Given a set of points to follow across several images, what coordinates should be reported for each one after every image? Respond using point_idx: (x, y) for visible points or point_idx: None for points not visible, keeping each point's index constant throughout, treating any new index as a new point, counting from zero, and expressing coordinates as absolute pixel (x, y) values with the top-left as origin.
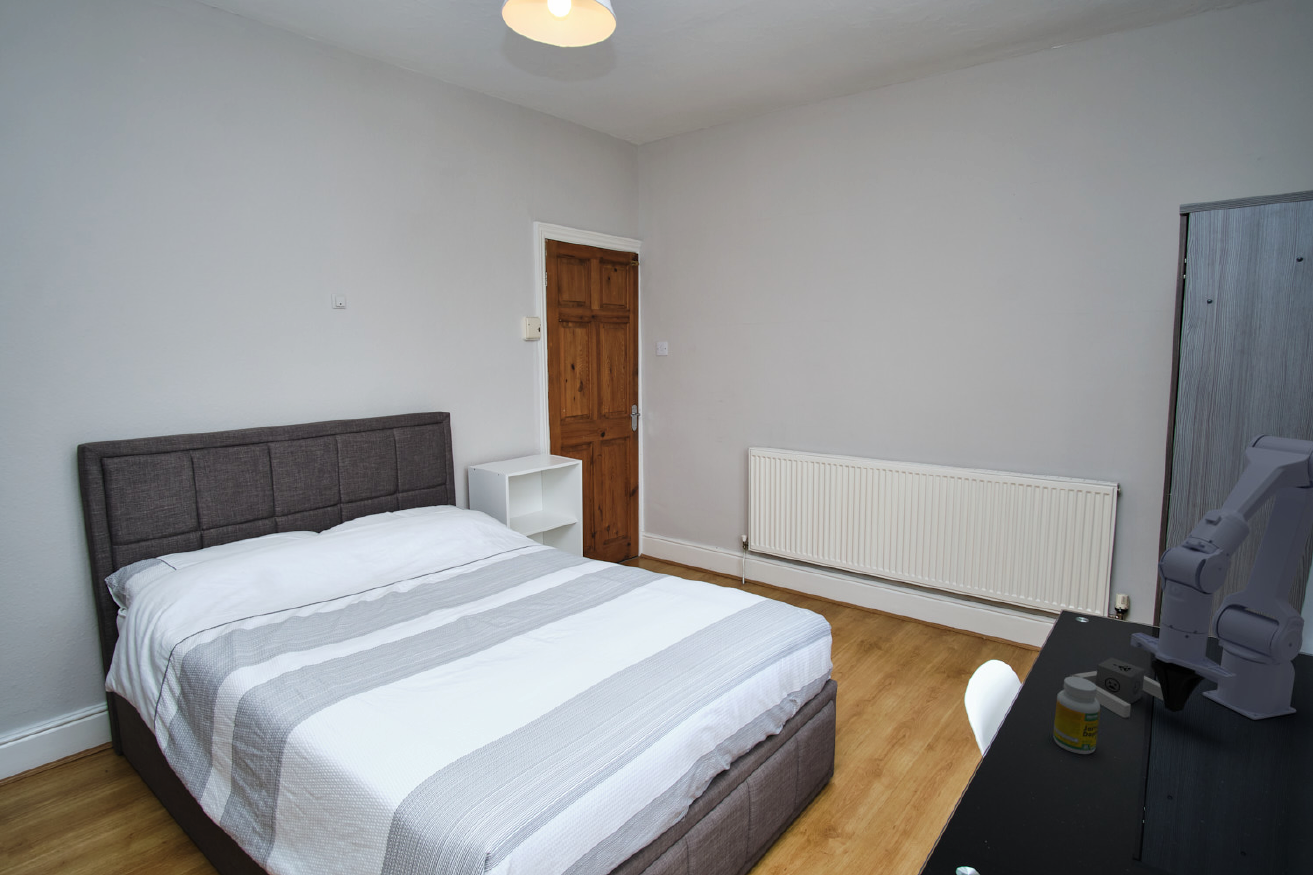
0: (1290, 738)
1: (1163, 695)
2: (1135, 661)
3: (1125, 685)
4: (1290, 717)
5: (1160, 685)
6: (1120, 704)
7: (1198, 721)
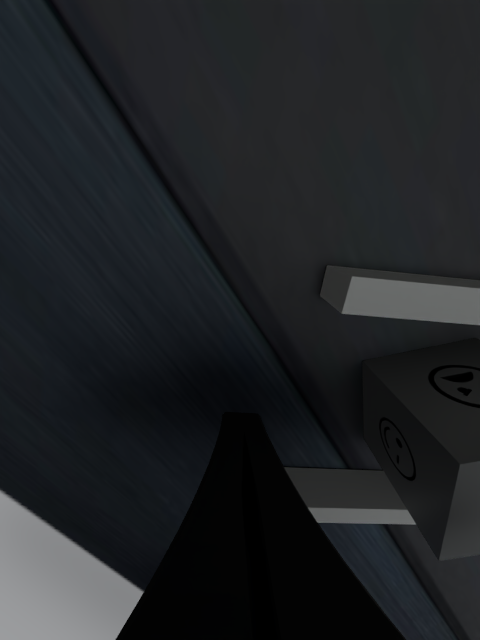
0: (102, 546)
1: (271, 455)
2: None
3: (433, 410)
4: None
5: (302, 506)
6: (372, 276)
7: None
